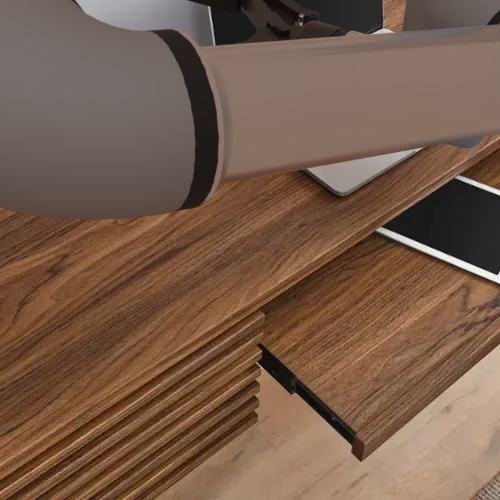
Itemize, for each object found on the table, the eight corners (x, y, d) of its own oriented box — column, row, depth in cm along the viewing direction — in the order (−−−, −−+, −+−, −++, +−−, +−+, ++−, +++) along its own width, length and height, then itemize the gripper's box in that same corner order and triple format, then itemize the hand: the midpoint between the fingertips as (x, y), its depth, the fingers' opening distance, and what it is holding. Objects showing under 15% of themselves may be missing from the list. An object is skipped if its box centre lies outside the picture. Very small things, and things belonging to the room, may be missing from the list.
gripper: (276, 170, 69) (87, 104, 76) (379, 42, 85) (213, -4, 92) (279, 101, 64) (75, 36, 71) (388, -22, 79) (211, -66, 86)
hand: (153, 14), depth 81 cm, fingers open, 13 cm apart
